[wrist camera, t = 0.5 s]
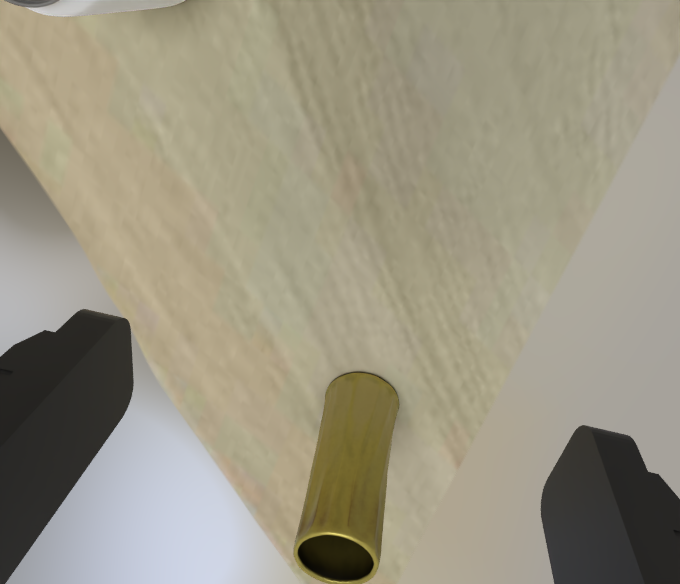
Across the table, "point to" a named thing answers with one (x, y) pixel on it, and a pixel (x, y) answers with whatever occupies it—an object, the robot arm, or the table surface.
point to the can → (90, 6)
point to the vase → (348, 482)
